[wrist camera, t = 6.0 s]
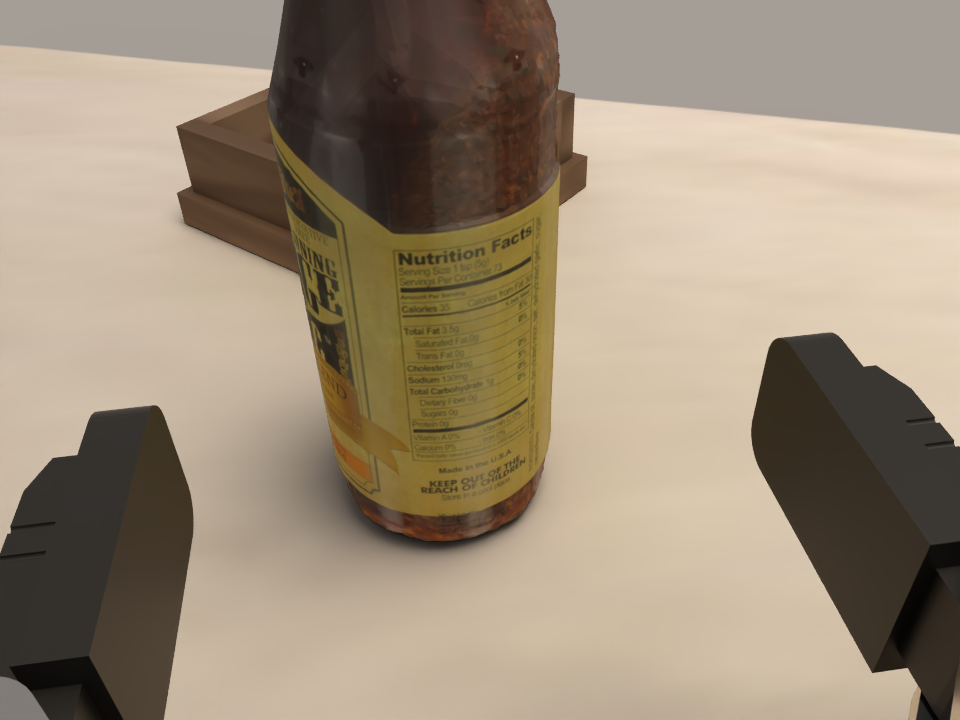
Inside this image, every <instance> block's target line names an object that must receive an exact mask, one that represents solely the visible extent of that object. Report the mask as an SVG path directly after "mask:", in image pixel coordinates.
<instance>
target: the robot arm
mask: <svg viewBox="0 0 960 720" xmlns="http://www.w3.org/2000/svg"><path fill="white" fill-rule="evenodd" d="M751 437H752V446H753V451H754V455H755V458H756V461H757V464H758V466H759V468H760V470H761V472H762V474H763V476H764V477H765V479H766V481H767V483H768V485H769V487H770V488H771V490H772V492H773V494H774V496H775V497H776V499H777V501H778V503H779V505H780V506H781V508H782V510H783V512H784V514H785V516H786V517H787V519H788V521H789V523H790V525H791V526H792V528H793V530H794V532H795V534H796V536H797V537H798V539H799V541H800V543H801V545H802V546H803V548H804V550H805V552H806V554H807V555H808V557H809V559H810V561H811V563H812V565H813V566H814V568H815V570H816V572H817V574H818V575H819V577H820V579H821V581H822V583H823V584H824V586H825V588H826V590H827V592H828V594H829V595H830V597H831V599H832V601H833V603H834V604H835V606H836V608H837V610H838V612H839V613H840V615H841V617H842V619H843V621H844V623H845V624H846V626H847V628H848V630H849V632H850V633H851V635H852V637H853V639H854V641H855V642H856V644H857V646H858V648H859V650H860V652H861V653H862V655H863V657H864V659H865V661H866V662H867V664H868V666H869V668H870V670H871V671H872V673H876V672H883V671H889V670H896V669H903V668H908V669H909V671H910V673H911V674H912V676H913V678H914V679H915V681H916V683H917V685H918V687H917V689H916V691H915V692H914V694H913V698H912V701H911V706H910V711H909V717H908V720H960V447H959V446H957V447H955V445H954V439H953V438H952V437H951V436H950V435H949V433H948V432H947V431H946V430H945V429H944V427H943V426H942V425H941V424H940V423H936V422H935V417H934V415H933V414H932V413H931V412H930V411H929V409H928V408H927V407H926V406H925V404H924V403H923V402H922V401H921V400H920V398H919V397H918V396H917V395H916V394H915V392H914V391H913V390H912V389H911V388H910V387H908V386H907V385H905V384H904V383H902V382H901V381H899V380H897V379H896V378H894V377H893V376H891V375H890V374H888V373H887V372H885V371H884V370H882V369H881V368H879V367H878V366H876V365H875V366H867V367H863V366H862V364H861V363H860V362H859V361H858V359H857V358H856V357H855V355H854V354H853V353H852V352H851V350H850V349H849V348H848V347H847V345H846V344H845V343H844V341H843V340H842V339H841V338H840V337H839V336H838V335H836V334H834V333H820V334H811V335H802V336H793V337H784V338H777V339H775V340H774V341H773V342H772V343H771V345H770V347H769V350H768V354H767V358H766V363H765V367H764V371H763V376H762V380H761V385H760V389H759V394H758V398H757V402H756V407H755V411H754V416H753V420H752V428H751ZM10 527H11V534H7V537H6V539H5V542H4V545H3V547H2V550H1V553H0V720H164V715H165V708H166V702H167V696H168V689H169V683H170V677H171V670H172V664H173V658H174V651H175V645H176V639H177V632H178V626H179V620H180V613H181V607H182V601H183V594H184V588H185V582H186V575H187V569H188V563H189V557H190V550H191V544H192V537H193V507H192V500H191V495H190V490H189V487H188V484H187V481H186V478H185V475H184V472H183V469H182V466H181V464H180V461H179V458H178V455H177V452H176V449H175V446H174V443H173V440H172V438H171V435H170V432H169V429H168V426H167V423H166V420H165V417H164V415H163V413H162V411H161V409H160V408H159V407H158V406H156V405H153V406H144V407H135V408H126V409H117V410H108V411H99V412H94V413H93V414H92V415H91V417H90V419H89V421H88V424H87V427H86V430H85V433H84V436H83V439H82V442H81V446H80V449H79V452H78V455H75V456H66V457H57V458H53V459H52V460H51V461H50V462H49V463H48V464H47V465H46V467H45V468H44V469H43V470H42V471H41V472H40V473H39V474H38V476H37V477H36V478H35V479H34V480H33V481H32V482H31V483H30V485H29V486H28V487H27V488H26V489H25V490H24V492H23V494H22V497H21V500H20V502H19V505H18V508H17V510H16V513H15V516H14V518H13V521H12V524H11V526H10Z"/></svg>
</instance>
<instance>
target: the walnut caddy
mask: <svg viewBox="0 0 960 720" xmlns="http://www.w3.org/2000/svg"><path fill="white" fill-rule="evenodd" d="M268 93H269V88H268V89H265V90H263V91H260V92H258V93H256V94H253V95H251V96H248V97H246V98H244V99H241V100H239V101H236V102H234V103H232V104H229V105H227V106H224V107H222V108H219V109H217V110H215V111H212V112H210V113H207V114H205V115H203V116H200V117H198V118H195V119H193V120H191V121H188V122H186V123H183V124H181V125H179V126H176V127H177V131H178V135H179V139H180V142H181V146H182V150H183V154H184V158H185V162H186V165H187V169H188V173H189V177H190V181H191V185H192V186H191V187H188V188H186V189H184V190H182V191H180V192H178V193H177V195H178V199H179V203H180V206H181V210H182V214H183V217H184V221H185V223H186V224H188V225H190V226H193V227H195V228H197V229H199V230H202V231H204V232H206V233H209V234H211V235H213V236H215V237H218V238H220V239H222V240H224V241H227V242H229V243H231V244H234V245H236V246H238V247H240V248H243V249H245V250H247V251H249V252H252V253H254V254H256V255H259V256H261V257H263V258H265V259H268V260H270V261H272V262H274V263H277V264H279V265H281V266H284V267H286V268H288V269H290V270H293V271H295V272H297V273H299V271H298V267H297V261H296V255H295V252H294V249H293V241H292V233H291V228H290V223H289V218H288V213H287V208H286V203H285V198H284V193H283V188H282V183H281V178H280V173H279V168H278V163H277V158H276V153H275V147H274V142H273V137H272V132H271V126H270V121H269V116H268V110H267V98H268ZM574 99H575V94H574V93H570V92H566V91H562V90H558V91H557V109H556V110H557V121H556V138H557V143H558V160H559V161H560V190H559V205H561V204H562V203H563V202H565V201H566V200H568V199H569V198H570V197H572V196H573V195H575V194H576V193H577V192H579V191H580V190H581V189H583V188H584V187H586V174H587V156H584V155H581V154H577V153H573V152H572V151H573V125H574Z"/></svg>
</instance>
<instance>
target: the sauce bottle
mask: <svg viewBox="0 0 960 720" xmlns="http://www.w3.org/2000/svg"><path fill="white" fill-rule="evenodd" d="M559 65H560V64H559V53H558V39H557V35H556V23H555V20H554V17H553V15H552V12H551V10H550V7H549V5H548V3H547V0H284V6H283V13H282V20H281V26H280V33H279V39H278V46H277V52H276V57H275V62H274V67H273V72H272V77H271V82H270V88H269V93H268V98H267V110H268V116H269V121H270V126H271V132H272V137H273V142H274V147H275V153H276V158H277V163H278V168H279V173H280V178H281V183H282V188H283V193H284V198H285V203H286V208H287V213H288V218H289V223H290V228H291V233H292V241H293V249H294V252H295V255H296V261H297V267H298V271H299V275H300V280H301V285H302V291H303V295H304V299H305V305H306V311H307V316H308V320H309V325H310V330H311V336H312V341H313V346H314V352H315V357H316V362H317V367H318V372H319V377H320V382H321V387H322V392H323V397H324V402H325V407H326V412H327V417H328V422H329V427H330V432H331V437H332V442H333V447H334V452H335V456H336V459H337V462H338V466H339V468H340V469H341V471H342V473H343V474H344V475H345V477H346V478H347V483H348V486H349V488H350V490H351V492H352V494H353V496H354V498H355V500H356V502H357V504H358V505H359V506H360V508H361V509H362V511H363V512H364V514H365V515H366V516H368V517H369V518H370V519H371V520H372V521H373V522H374V523H376V524H378V525H380V526H381V527H383V528H385V529H386V530H388V531H392V532H398V533H403V534H405V535H407V536H409V537H413V538H418V539H422V540H424V541H455V540H461V539H465V538H472V537H476V536H478V535H480V534H484V533H485V532H487V531H493V530H496V529H498V528H499V527H500V526H501V525H504V524H505V523H507V522H509V521H511V520H513V519H514V518H516V517H517V516H519V515H520V514H522V512H523V511H524V509H525V507H526V506H527V504H528V502H529V501H530V500H531V498H532V497H533V496H534V494H535V492H536V489H537V486H538V483H539V481H540V478H541V473H542V471H543V469H544V467H543V464H544V461H545V456H546V453H547V450H548V446H549V439H550V432H551V395H552V375H553V350H554V324H555V297H556V270H557V244H558V216H559V190H560V161H559V160H558V143H557V138H556V121H557V110H556V109H557V91H558V83H559V76H560V74H559Z"/></svg>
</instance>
